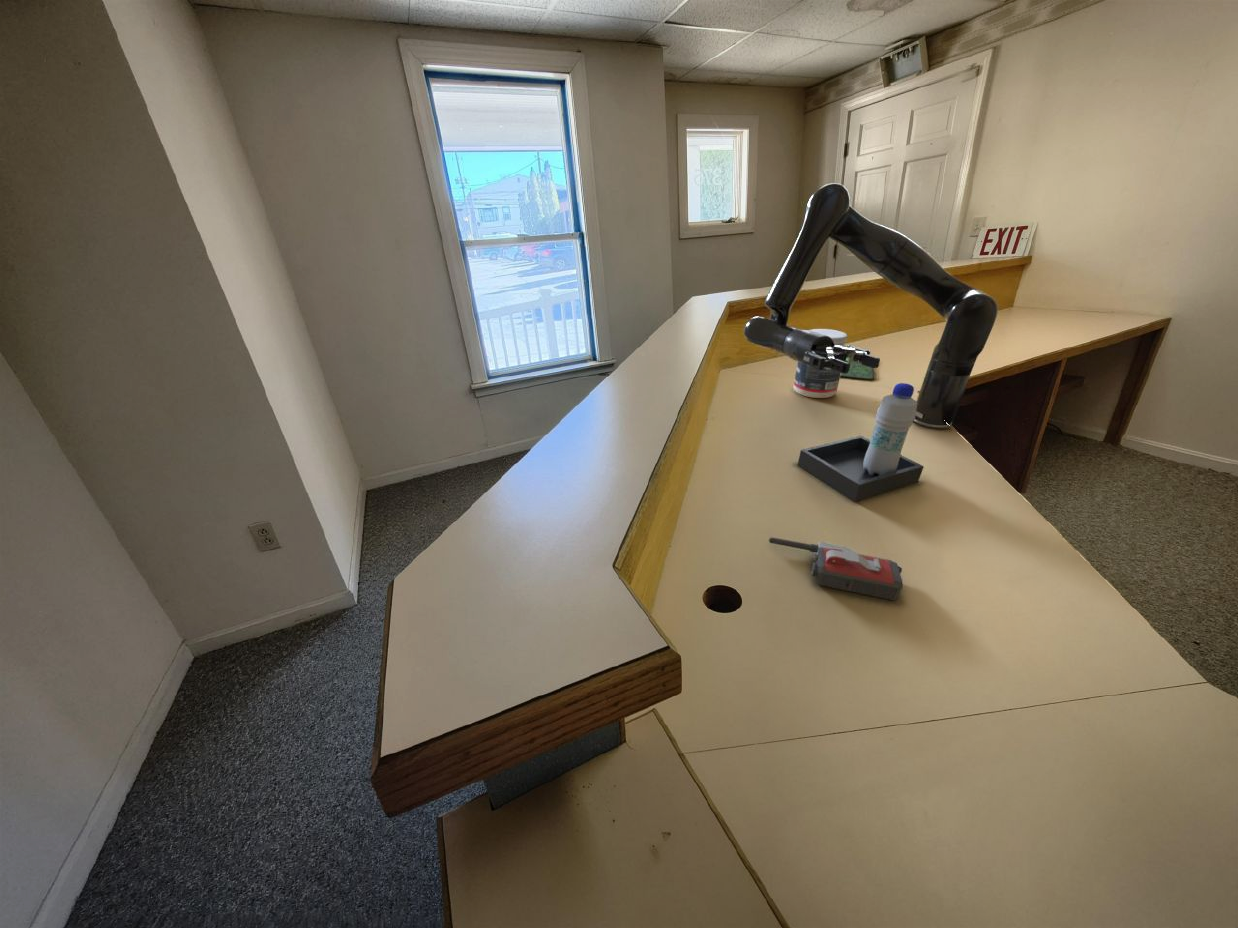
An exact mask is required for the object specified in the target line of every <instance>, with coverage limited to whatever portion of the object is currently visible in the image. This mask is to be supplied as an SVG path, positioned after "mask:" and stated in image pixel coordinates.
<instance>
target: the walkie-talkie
mask: <svg viewBox="0 0 1238 928" xmlns="http://www.w3.org/2000/svg"><path fill="white" fill-rule="evenodd" d="M768 542H769V543H770V544H773V545H779V546H783V547H788V548H789V547H790V548H795V549H800V550H804V551H809V552H811V553H813V554H812V555H811V560H812V561H814V562H813V563H812V565H811V575H812V577H815V578H816V584H817V585H819V586H824V587H828V588H833V589H836V590H837V589H838V590H842V591H847V592H853V593H857V594H861V595H867V596H871V597H876V598H881V599H885V600H891V601H895V600H897V599H898V598H899V596H900V594H901V591H902V589H903V586H904V582H903V579H902V576H901V573H902V572H903V568H902V567H901V566H900V565H899V564H898V562H896V561H893V560H891V559H888V558H887V559H886V558H881V557H876V556H869V555H865V554H860V553H858V552H856V551H854V550H852V549H851V548H849V547H847V546H846V545H839V544H834V543H828V542H826V541H822V540H820V541H819V542H818V544H815V543H805V542H799V541H794V540H789V539H784V538H778V537H773V536H771V537H769V539H768Z"/></svg>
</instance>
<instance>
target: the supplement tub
mask: <svg viewBox="0 0 1238 928" xmlns="http://www.w3.org/2000/svg"><path fill="white" fill-rule="evenodd" d="M808 330H809V331H812V332H816V333H819V334H823V335H826V336H829V337H830V338H832V340H833V342H834V345H837V346H842V347H845V348H846V347H847V345H846V344H845V343H847V341H848V340H847V339H848V334H847V333H846V332H845V331H841V330H836V329H830V328H813V329H808ZM840 376H841V372H838V371H835V370H833V369H832V370H828V369H826V368H824V369H823V370H818V369H816V368H814V367H811V366H808V365H806V364H803V363H800V362H798V361H797V365H796V370H795V374H794V380H793V384H792V387H793V390H794V391H795V392H796V393H797V394H799V395H800V396H804V397H807V398H812V399H813V398H814V399H826V398H830V397H833V396H835V395H836V393H837V392H838V389H839V384H840V379H841V377H840Z"/></svg>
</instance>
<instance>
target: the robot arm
mask: <svg viewBox="0 0 1238 928" xmlns="http://www.w3.org/2000/svg"><path fill="white" fill-rule="evenodd" d="M828 239H831V240H832V241H835V242H836V243H838V244H839V245H841V246H843V247H844V248H845V249H847V250H848V251H849V252H850V253H851V254H853V255H854V256H855V257H856V258H857V259H858V260H859V261H861V262H862V263H863V264H864V265H865V266H867V268H869V269H870V270H872V271H873V272H874V273H875V274H876V275H878V276H880V277H881V278H883V279H884V280H885V281H887V282H888V283H889V284H891V285H893V286H894V287H896V288H898V289H900V290H902V291H904V292H906V293H908V294H911V295H913V296H915V297H916V298H919V299H920V300H922V301H924V302H925V303H926V304H927V305H928V306H930V307H931V308H932V309H933V310H934V311H936V313H937V314H939V315H940V316H941V318H943V319H944V321H945V322H946V323H945V325H944V328H943V332H942V334H941V337H940V339H939V341H938V343H937V344H936V345H935V346H934V348H933V351H932V353H931V357H930V359H929V363H928V365H927V369H926V372H925V374H924V377H923V380H922V384H921V386H920V389H919V393H918V395H917V399H916V401H917V408H916V414H915V419H914V420H913V423H915V424H917V425H919V426H923V427H925V428H930V429H943V430H944V429H948V428H950V426H951V427H952V425H953V423H954V421H955V419H956V416H957V413H958V411H959V408H960V405H961V403H962V400H963V397H964V395H965V392H966V387H967V384H968V382H969V380H970V377H971V374H972V371H973V369H974V367H975V364H976V362H977V359H978V357H979V355H980V354H981V353H982V351H983V350H984V348H985V346H986V344H987V342H988V339H989V337H990V335H991V332H992V330H993V327H994V325H995V322H996V320H997V317H998V314H999V313H998V312H999V307H998V303H997V301H996V300H995V299H994V298H993V297H992V296H990V295H989V294H987V293H986V292H984V291H982V290H980V289H978V288H975V287H973V286H971V285H969V284H968V283H965V282H963V281H962V280H960V279H958V278H956V277H955V276H953V275H952V274H950V273H949V272H948V271H946V270H945V269H944V267H942V266H941V264H940V263H939V262H938V261H937V260H936V259H935V258H934V257H933V256H932V255H930V253H929V252H927V251H926V250H925V249H923V247H922V246H920V245H918V244H917V242H914V241H913V240H911V239H910V238H908V236H906V235H905V234H902V233H901V232H899V231H896V230H895V229H892V228H889V227H886V226H884V225H882V224H879V223H876V222H874V221H871V220H870V219H869V218H867V217H865V216H864V215H862V214H861V213H859V212H858V211H857V210H856V209H854V207H853V206H851V197H850V194H849V191H848V189H847V188H846V187H845V186H844V185H843V184H841V183H836V182H831V183H827V184H825V185H823V186H821V187H820V188H818V189H817V190H816V191H815V192H814V193H813V194H812V195H811V197H810V198H809V201H808V203H807V206H806V209H805V217H804V221H803V224H802V227H801V230H800V232H799V234H798V236H797V239H796V241H795V243H794V245H793V247H792V248H791V251H790V253H789V255H788V256H787V258H786V260H785V261H784V263H783V265H782V267H781V268H780V270H779V272H778V273H777V275H776V278H775V280H773V283H772V286H771V288H770V289H769V292H768V294H767V296H766V298H765V300H764V306H765V307H766V308H767V309H768V310H769V312H770V314H769V318H767V317H765V316H754V317H751V318H750V319H749V320H748V321H747V322H746V323H745V325H744V327H743V335H744V338H745V340H746V341H747V342H748V343H750V344H753V345H756V346H758V347H761V348H764V349H766V350H767V349H768V350H772V351H774V352H776V353H777V354H780V355H782V356H785V357H788V358H790V359H791V360H793V361H795V362H797V363H798V362H800V363H803V364H806V365H808V366H811V367H814V368H816V369H818V370H823V369H824V368H826V369H828V370H832V369H833V370H835V371H838V372H841V373H844V374H845V373H848V372H849V368H850V365H851V364H852V363H857V364H862V365H865V366H868V367H871V368H873V369H877V368H879V366H880V362H881V359H880V357H878V356H875V355H871V352H872V351H871V350H869V349H866V348H861V347H858V346H854V345H851V344H847V345H846V348H845V347H842V346H837V345H834V342H833V340H832V338H830V337H829V336H826V335H823V334H819V333H816V332H812V331H809V330H810V329H802V328H798V327H795V326H792V325H788V321H789V318H790V314H791V309H793V308H792V307H793V306H794V304H795V302H796V300H797V298H798V296H799V294H800V292H801V290H802V289H803V287H804V285H805V282H806V280H807V278H808V276H809V274H810V272H811V269H812V268H813V266H814V263H815V262H816V259H817V257H818V256H819V253H820V252H821V251H822V248H823V247H824V245H825V244H826V242H827V240H828ZM846 358H850V359H849V360H848V361H846ZM854 359H855V360H854ZM944 420H945V421H944ZM946 422H947V423H948V424H949V425H950V426H949V425H947V424H946Z"/></svg>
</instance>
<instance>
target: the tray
mask: <svg viewBox="0 0 1238 928" xmlns="http://www.w3.org/2000/svg"><path fill="white" fill-rule="evenodd" d="M870 441H871V439H869V438H867V437H865V436H863V435H857V436H856V435H855V436H852V437H849V438H844V439H840V440H836V441H832V442H827V443H824V444H820V445H815V446H811V447H806V448H802V449H800V452H799V457H798V462H797V466H798V467H799V468H800V469H803V471H805V472H807V473H809V474H810V475H812V476H813V477H815V478H817V479H818V480H820V481H821V482H822V483H824V484H826V485H828V487H830V488H832V489H833V490H835V491H836V492H838V493H840V494H841V495H842V496H844V497H846V498H847V499H849V500H850V501H852V502H854V503H856V502H858V501H862V500H865V499H868V498H872V497H875V496H878V495H882V494H884V493H885V494H886V493H888V492H891V491H894V490H898V489H901V488H904V487H905V488H906V487H908V486H910V485H915V484H918V483H919V481H920V477H921V475H922V472H923V470H924V467H925V466H924V465H923V464H920V463H918V462H916V461H914V460H913V459H910V458H908V457H906V456H904V455H902V454H900V458H899V462H898V466H897V469H896V470H895V471H894V472H891V473H887V474H884V475H880V476H879V474H877V473H874V475H873V476H871V475H869V472H865V471H864V469H863V462H864V458H865V455H866V452H867V450H868V447H869V445H870Z"/></svg>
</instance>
